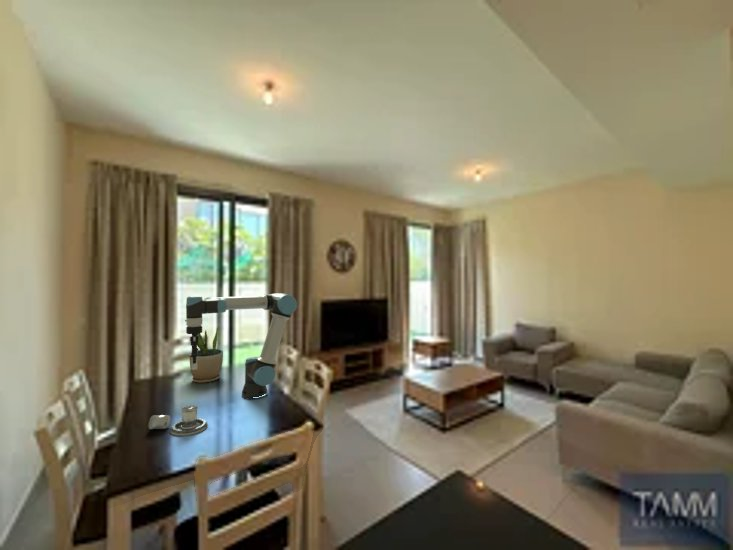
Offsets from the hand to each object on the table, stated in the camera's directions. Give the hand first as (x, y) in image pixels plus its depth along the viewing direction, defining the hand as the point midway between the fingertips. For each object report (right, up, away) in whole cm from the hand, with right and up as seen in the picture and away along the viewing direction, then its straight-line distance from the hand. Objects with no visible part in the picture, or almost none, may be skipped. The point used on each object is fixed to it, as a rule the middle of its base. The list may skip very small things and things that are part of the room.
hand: (194, 366), depth 182 cm
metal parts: (+1, -25, -17) cm, 30 cm away
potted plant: (-21, -25, +58) cm, 66 cm away
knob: (+6, -25, -16) cm, 30 cm away
